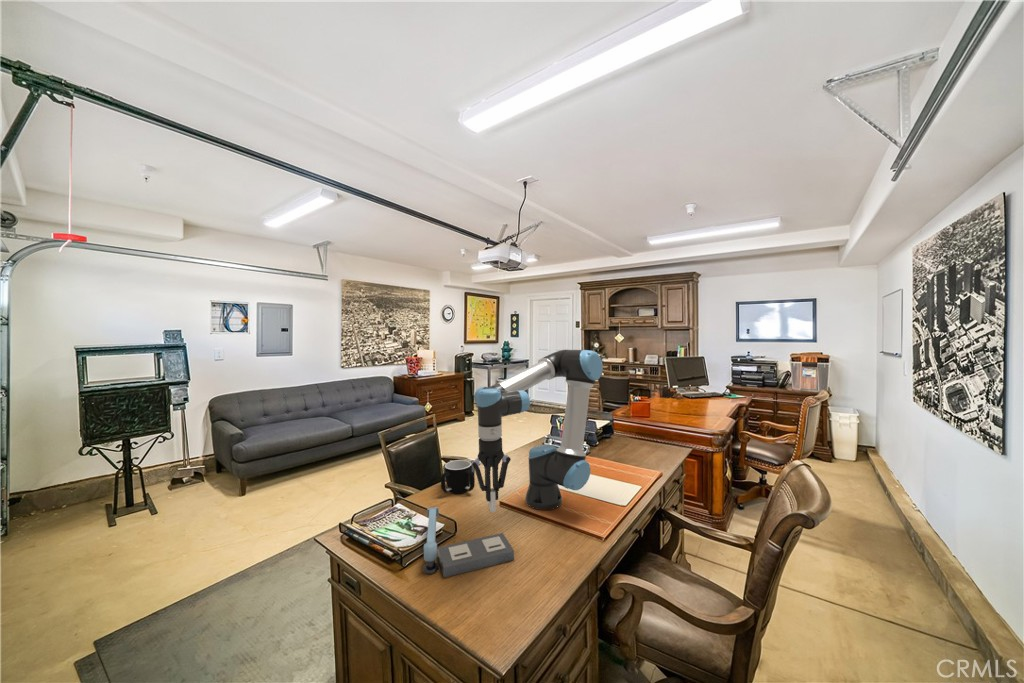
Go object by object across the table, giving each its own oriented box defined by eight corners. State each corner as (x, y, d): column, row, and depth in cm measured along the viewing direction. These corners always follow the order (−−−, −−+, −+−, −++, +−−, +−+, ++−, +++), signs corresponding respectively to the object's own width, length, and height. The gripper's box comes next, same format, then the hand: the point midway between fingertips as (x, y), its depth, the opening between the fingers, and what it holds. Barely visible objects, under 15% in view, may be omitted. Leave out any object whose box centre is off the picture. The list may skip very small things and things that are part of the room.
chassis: (503, 541, 125) (502, 531, 124) (514, 560, 114) (513, 549, 114) (438, 556, 117) (437, 546, 117) (443, 577, 107) (443, 566, 107)
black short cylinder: (438, 562, 114) (437, 551, 114) (440, 572, 109) (440, 560, 109) (421, 566, 112) (421, 555, 112) (423, 576, 108) (423, 564, 108)
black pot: (474, 498, 158) (473, 470, 157) (437, 499, 158) (436, 471, 157) (478, 482, 174) (477, 457, 173) (444, 483, 174) (444, 458, 174)
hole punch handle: (437, 560, 109) (436, 548, 109) (423, 562, 108) (423, 549, 108) (438, 515, 136) (438, 505, 136) (427, 517, 135) (427, 507, 135)
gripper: (473, 443, 111) (475, 519, 112) (513, 438, 115) (515, 511, 116) (467, 437, 118) (470, 508, 119) (505, 432, 122) (507, 501, 123)
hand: (492, 510), depth 117 cm, fingers closed
